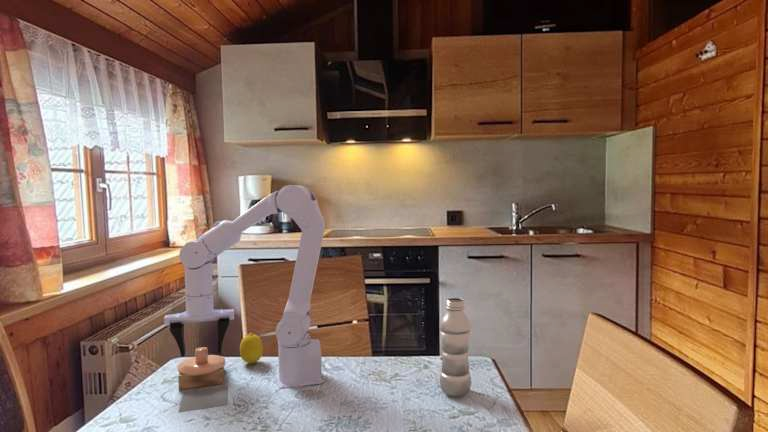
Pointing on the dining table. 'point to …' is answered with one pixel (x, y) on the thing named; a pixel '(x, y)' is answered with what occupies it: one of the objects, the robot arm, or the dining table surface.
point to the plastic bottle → (455, 349)
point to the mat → (204, 399)
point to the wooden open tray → (201, 380)
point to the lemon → (251, 348)
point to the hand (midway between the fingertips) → (201, 353)
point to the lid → (201, 363)
